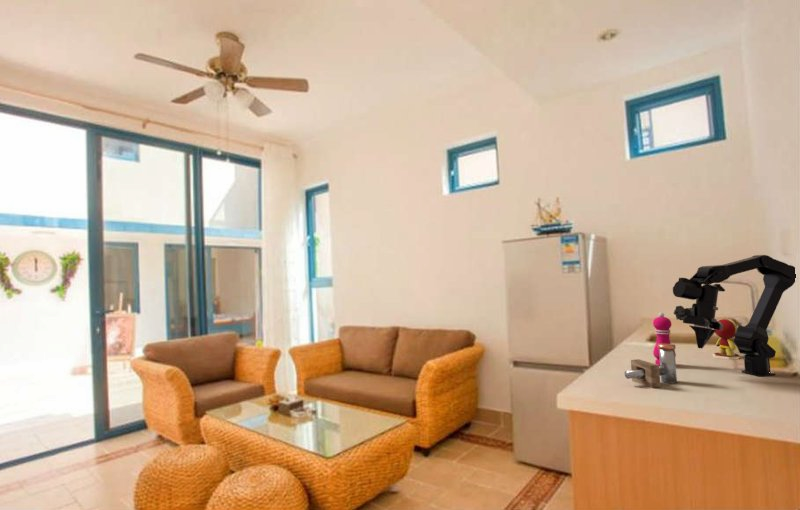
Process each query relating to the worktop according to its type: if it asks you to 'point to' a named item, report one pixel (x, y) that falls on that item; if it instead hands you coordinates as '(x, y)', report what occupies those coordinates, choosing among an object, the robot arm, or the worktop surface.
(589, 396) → the worktop surface
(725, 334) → the figurine
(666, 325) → the pepper mill
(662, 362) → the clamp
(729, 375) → the worktop surface
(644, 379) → the tan wooden block
